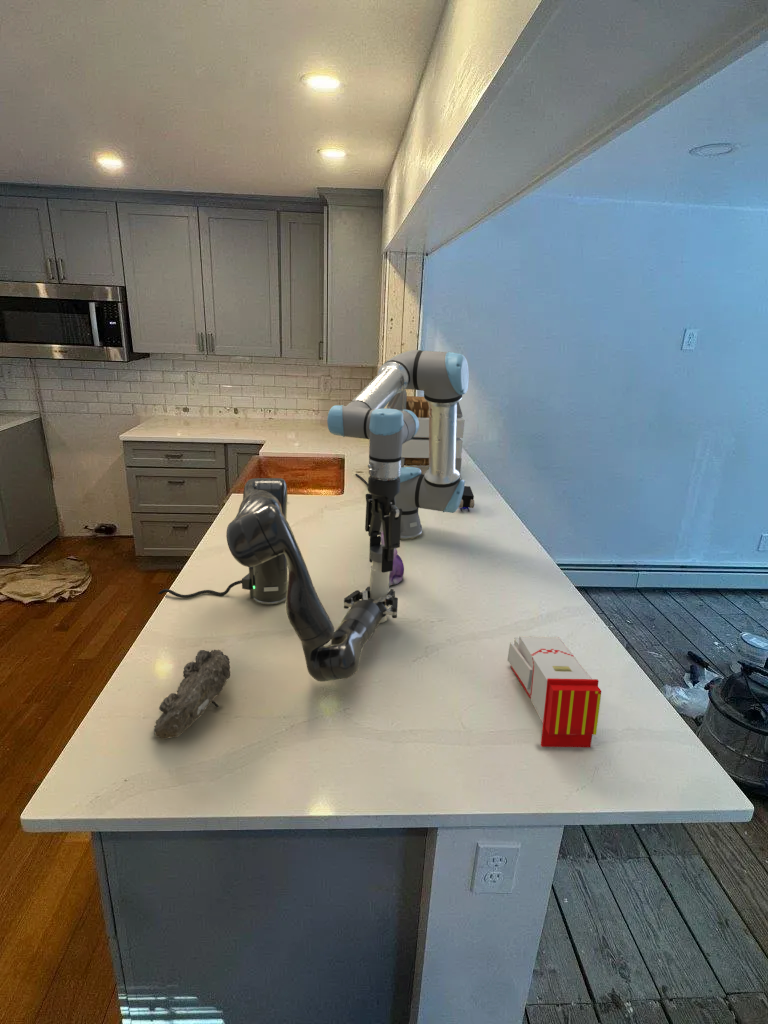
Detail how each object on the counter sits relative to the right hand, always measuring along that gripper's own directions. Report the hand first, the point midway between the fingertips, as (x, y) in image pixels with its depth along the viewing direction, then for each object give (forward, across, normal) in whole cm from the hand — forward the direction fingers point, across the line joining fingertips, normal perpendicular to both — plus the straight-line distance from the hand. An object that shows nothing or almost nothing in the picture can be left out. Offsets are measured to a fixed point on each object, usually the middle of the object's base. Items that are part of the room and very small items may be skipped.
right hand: (380, 565), depth 141 cm
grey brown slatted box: (+16, -110, +84) cm, 139 cm away
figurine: (+15, -17, +13) cm, 26 cm away
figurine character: (+16, -60, +73) cm, 96 cm away
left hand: (+8, -2, +2) cm, 8 cm away
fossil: (+14, +14, -48) cm, 52 cm away
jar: (+15, 0, 0) cm, 15 cm away
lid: (-4, 0, 0) cm, 4 cm away
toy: (+14, +44, +15) cm, 48 cm away
